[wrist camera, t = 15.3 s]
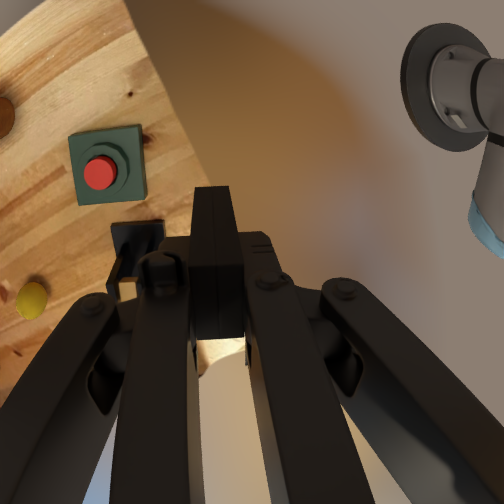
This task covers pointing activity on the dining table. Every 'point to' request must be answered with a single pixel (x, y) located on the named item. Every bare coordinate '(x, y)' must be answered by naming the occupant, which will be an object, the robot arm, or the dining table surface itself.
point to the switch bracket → (132, 250)
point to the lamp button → (100, 172)
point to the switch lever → (128, 288)
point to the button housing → (121, 153)
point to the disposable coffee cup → (6, 116)
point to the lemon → (31, 300)
